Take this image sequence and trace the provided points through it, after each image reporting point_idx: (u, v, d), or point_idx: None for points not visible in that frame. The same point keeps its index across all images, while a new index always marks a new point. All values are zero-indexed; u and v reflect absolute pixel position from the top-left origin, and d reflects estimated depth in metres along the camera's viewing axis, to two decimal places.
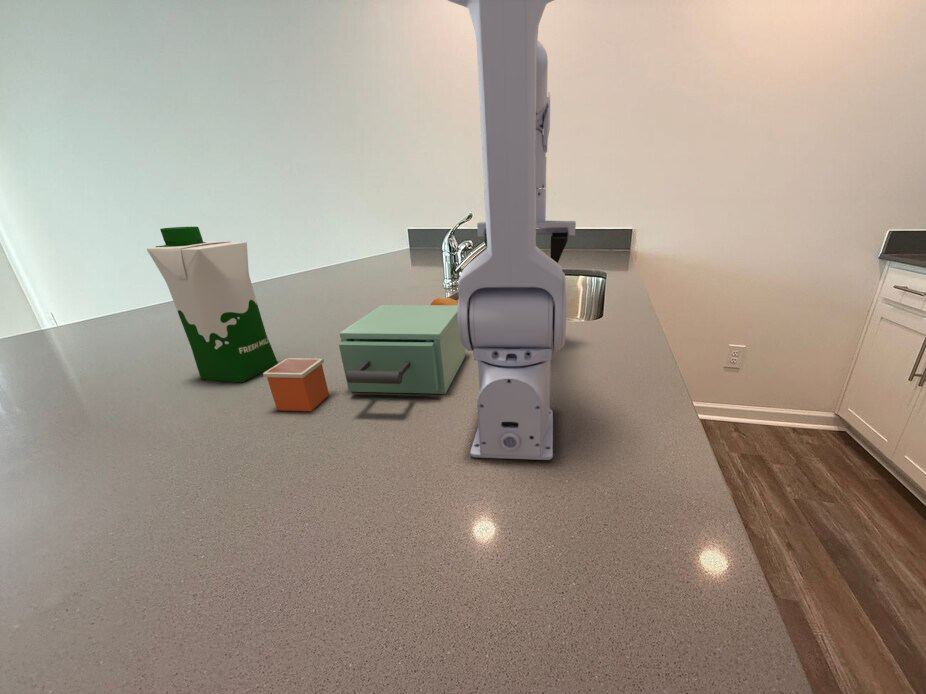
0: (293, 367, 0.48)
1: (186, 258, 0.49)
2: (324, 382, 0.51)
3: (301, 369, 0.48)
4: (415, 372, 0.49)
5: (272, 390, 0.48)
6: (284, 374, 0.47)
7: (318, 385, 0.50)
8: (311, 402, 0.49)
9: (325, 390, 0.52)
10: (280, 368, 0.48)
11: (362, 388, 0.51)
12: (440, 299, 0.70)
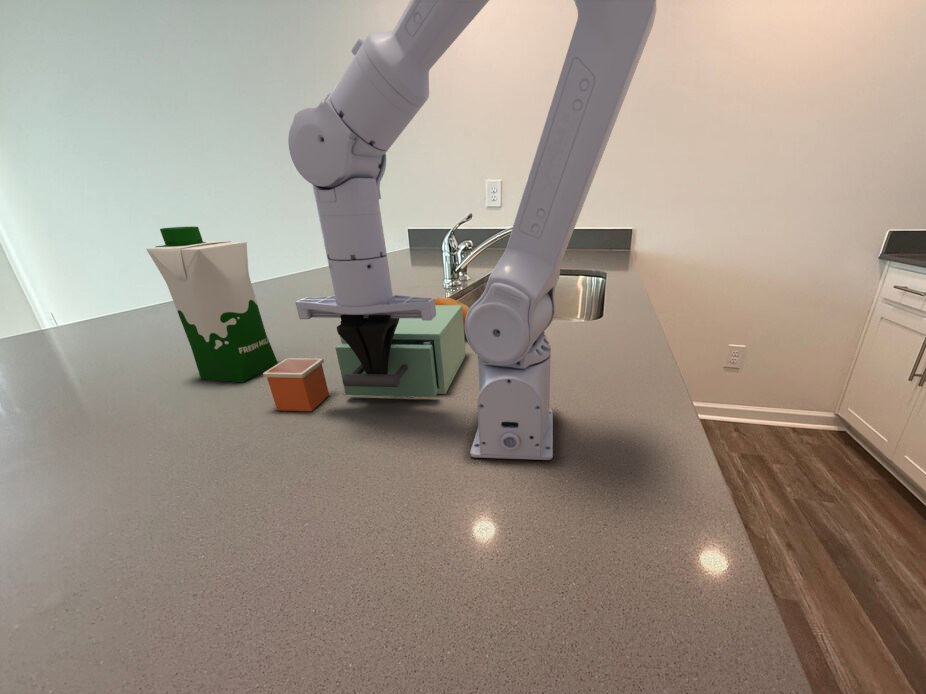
0: (293, 367, 0.48)
1: (185, 258, 0.49)
2: (324, 382, 0.51)
3: (301, 369, 0.48)
4: (412, 375, 0.48)
5: (272, 390, 0.48)
6: (284, 374, 0.47)
7: (318, 385, 0.50)
8: (311, 402, 0.49)
9: (325, 390, 0.52)
10: (280, 368, 0.48)
11: (359, 391, 0.50)
12: (440, 299, 0.70)
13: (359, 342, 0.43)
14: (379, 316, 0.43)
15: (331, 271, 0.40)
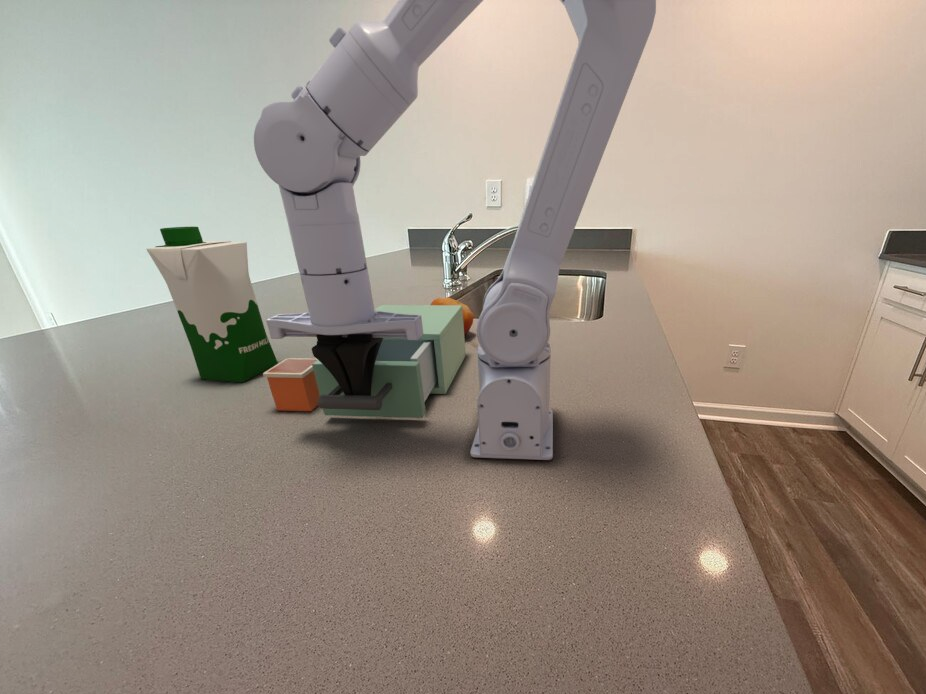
0: (293, 367, 0.48)
1: (185, 258, 0.49)
2: None
3: (301, 369, 0.48)
4: (398, 394, 0.44)
5: (272, 390, 0.48)
6: (284, 374, 0.47)
7: None
8: (311, 402, 0.49)
9: None
10: (280, 368, 0.48)
11: (339, 412, 0.46)
12: (440, 299, 0.70)
13: (337, 364, 0.38)
14: (359, 335, 0.38)
15: (304, 287, 0.35)
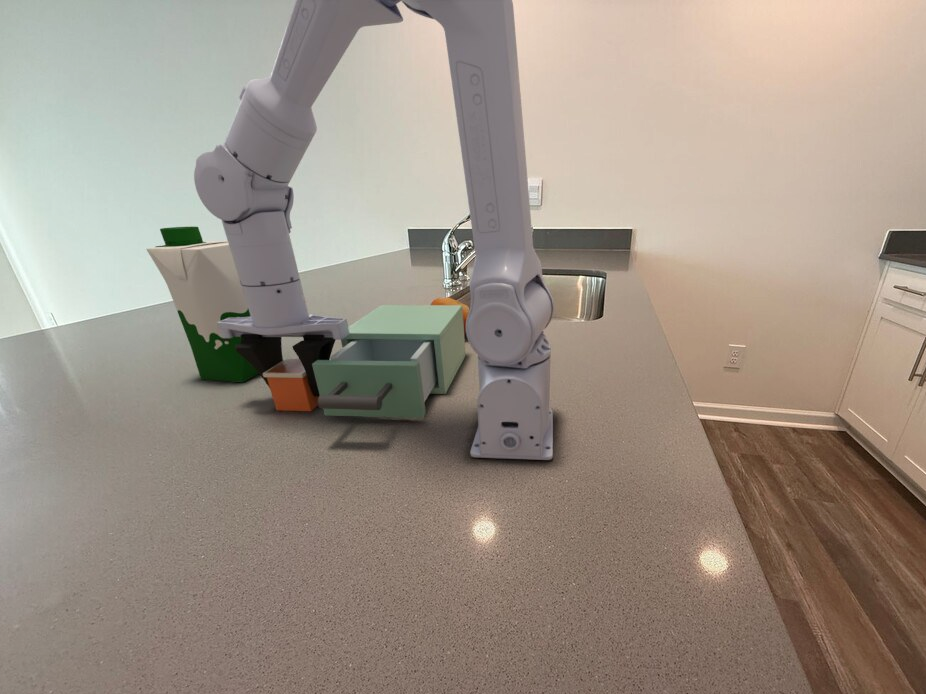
0: (292, 367, 0.48)
1: (185, 258, 0.49)
2: None
3: (301, 369, 0.48)
4: (398, 394, 0.44)
5: (272, 390, 0.48)
6: (284, 374, 0.47)
7: None
8: (311, 402, 0.49)
9: None
10: (280, 368, 0.48)
11: (339, 412, 0.46)
12: (440, 299, 0.70)
13: (257, 359, 0.46)
14: (313, 336, 0.46)
15: (244, 295, 0.43)
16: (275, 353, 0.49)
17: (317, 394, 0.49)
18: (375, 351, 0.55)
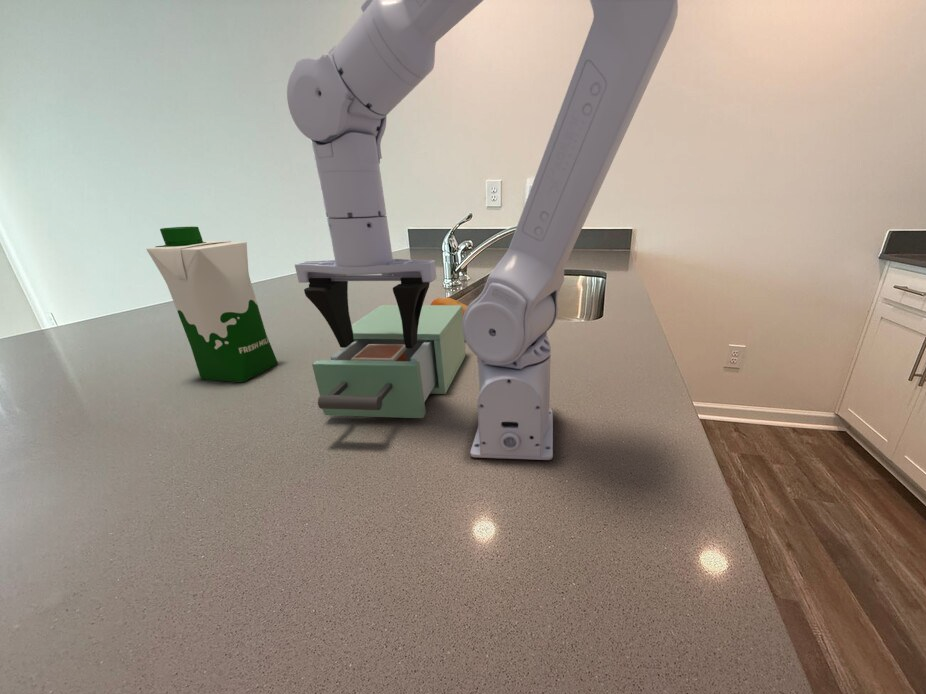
0: (379, 352, 0.46)
1: (185, 258, 0.49)
2: None
3: (389, 354, 0.46)
4: (398, 394, 0.44)
5: None
6: (373, 359, 0.45)
7: None
8: None
9: None
10: (367, 354, 0.46)
11: (339, 412, 0.46)
12: (440, 299, 0.70)
13: (327, 305, 0.43)
14: (412, 278, 0.42)
15: (331, 230, 0.39)
16: (342, 301, 0.45)
17: (410, 345, 0.45)
18: None
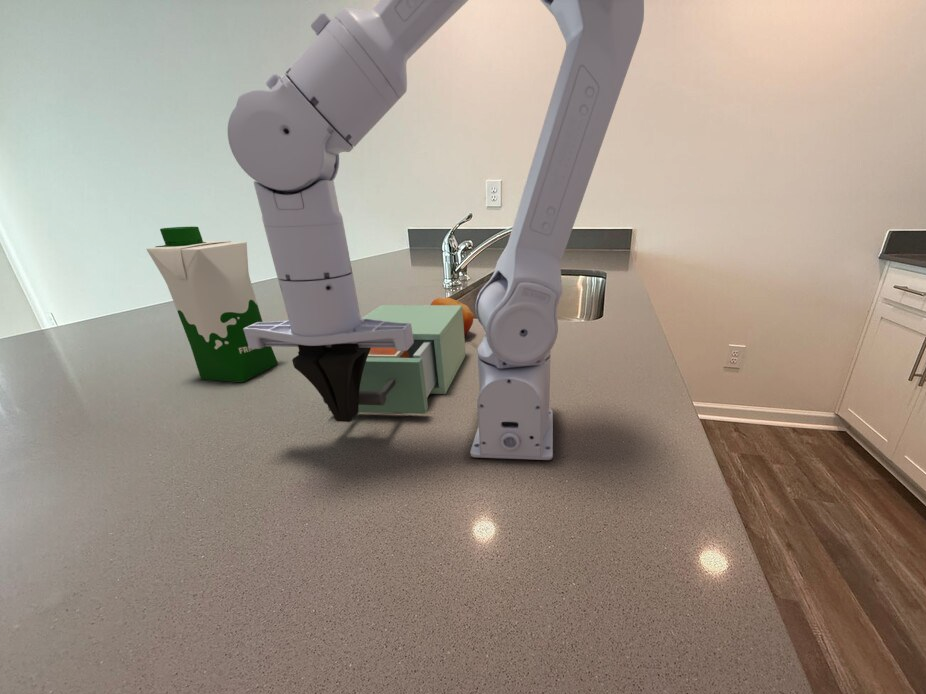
0: (383, 349, 0.47)
1: (185, 258, 0.49)
2: None
3: (392, 351, 0.47)
4: (401, 390, 0.45)
5: None
6: (377, 356, 0.46)
7: None
8: None
9: None
10: (371, 351, 0.47)
11: None
12: (440, 299, 0.70)
13: (320, 377, 0.36)
14: (344, 345, 0.36)
15: (282, 293, 0.33)
16: None
17: (347, 419, 0.38)
18: None
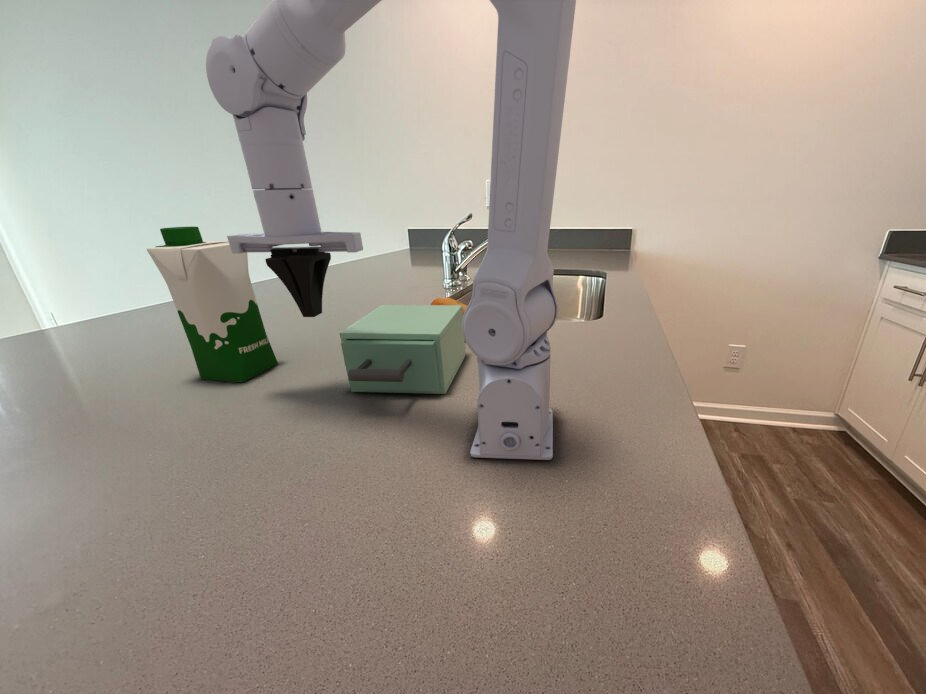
0: None
1: (186, 258, 0.49)
2: None
3: None
4: (416, 370, 0.50)
5: None
6: (394, 340, 0.51)
7: None
8: None
9: None
10: None
11: (364, 386, 0.51)
12: (440, 299, 0.70)
13: (288, 274, 0.45)
14: (307, 249, 0.45)
15: (256, 202, 0.42)
16: None
17: (312, 314, 0.48)
18: None
